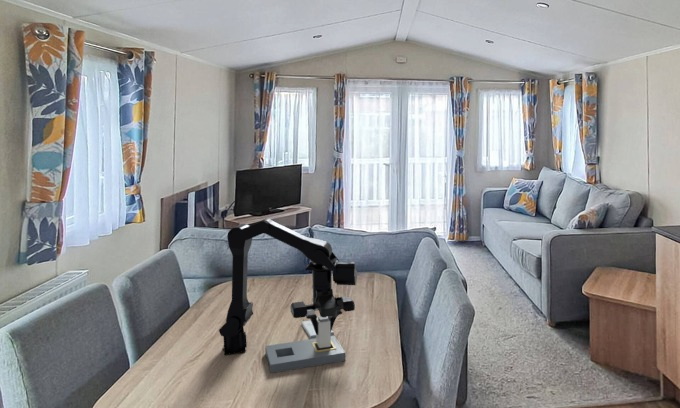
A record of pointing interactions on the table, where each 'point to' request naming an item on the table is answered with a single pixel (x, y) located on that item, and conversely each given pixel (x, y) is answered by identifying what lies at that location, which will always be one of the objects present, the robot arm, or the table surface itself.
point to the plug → (323, 332)
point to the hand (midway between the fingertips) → (323, 333)
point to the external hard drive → (310, 329)
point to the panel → (302, 354)
